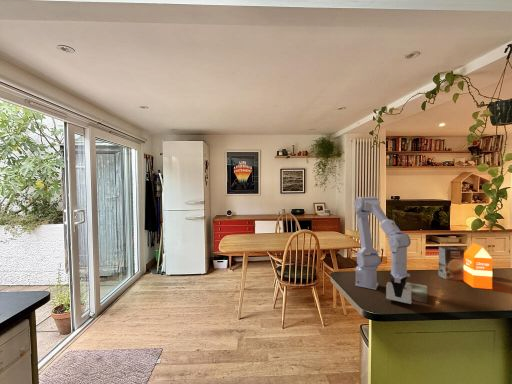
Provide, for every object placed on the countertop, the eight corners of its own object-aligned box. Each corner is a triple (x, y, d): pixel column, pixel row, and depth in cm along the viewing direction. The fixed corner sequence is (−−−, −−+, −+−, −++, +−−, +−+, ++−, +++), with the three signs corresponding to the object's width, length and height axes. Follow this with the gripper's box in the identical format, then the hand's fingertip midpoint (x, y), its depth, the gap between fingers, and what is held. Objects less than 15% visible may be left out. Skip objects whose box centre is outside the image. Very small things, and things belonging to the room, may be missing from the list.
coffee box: (445, 279, 131) (445, 249, 131) (438, 275, 137) (438, 246, 137) (464, 280, 130) (464, 249, 130) (455, 276, 136) (456, 246, 136)
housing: (386, 298, 106) (386, 283, 106) (387, 294, 110) (387, 280, 110) (411, 304, 101) (411, 288, 101) (411, 299, 105) (411, 284, 105)
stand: (394, 296, 111) (394, 287, 111) (396, 288, 120) (396, 280, 120) (427, 303, 105) (427, 293, 105) (427, 294, 113) (427, 285, 113)
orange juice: (473, 287, 121) (473, 246, 120) (463, 280, 129) (463, 242, 129) (492, 289, 119) (493, 247, 118) (481, 282, 127) (481, 243, 127)
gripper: (409, 268, 97) (409, 303, 97) (410, 259, 109) (410, 290, 109) (388, 265, 101) (388, 299, 101) (392, 257, 113) (392, 286, 113)
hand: (398, 294), depth 105 cm, fingers closed on housing, 5 cm apart
